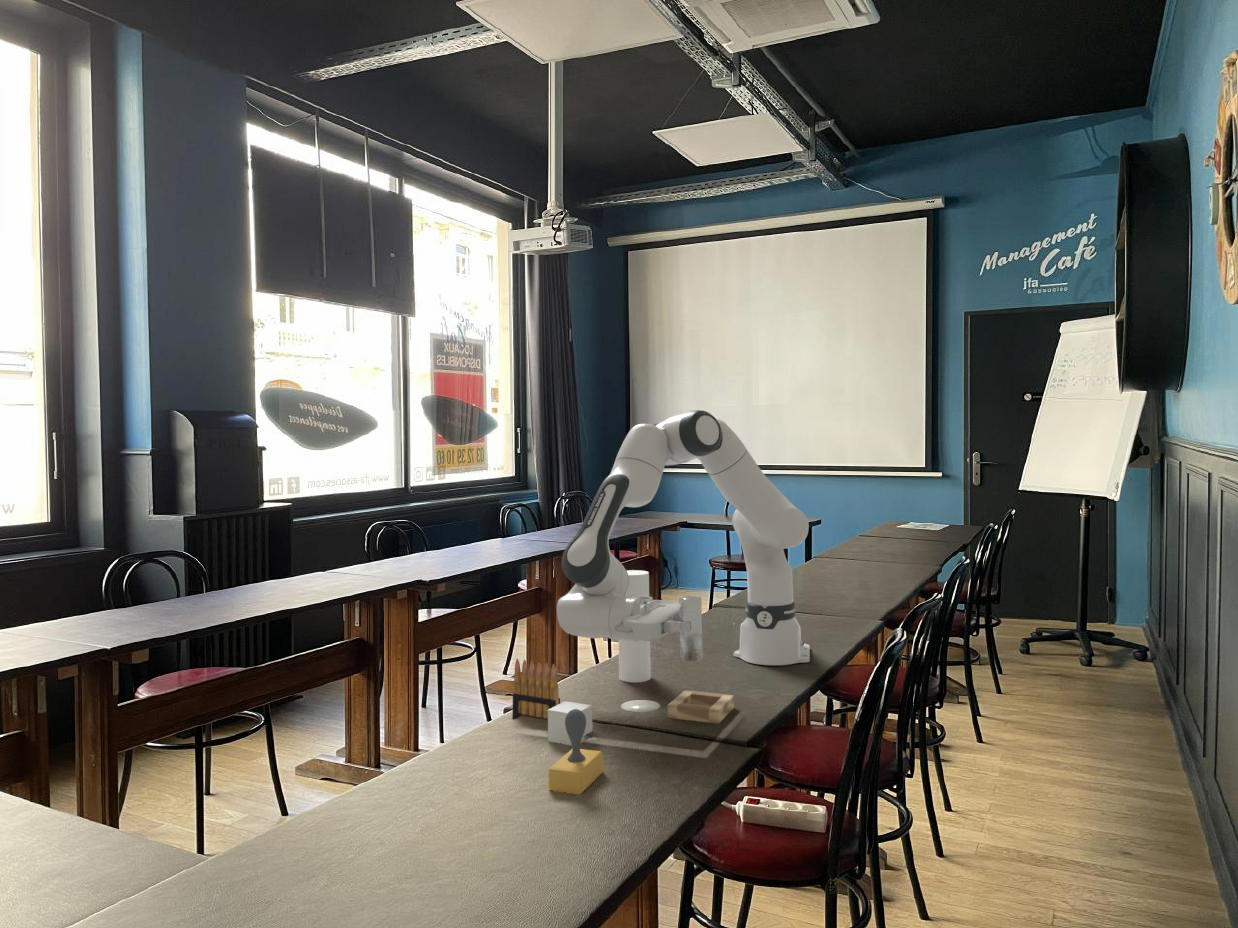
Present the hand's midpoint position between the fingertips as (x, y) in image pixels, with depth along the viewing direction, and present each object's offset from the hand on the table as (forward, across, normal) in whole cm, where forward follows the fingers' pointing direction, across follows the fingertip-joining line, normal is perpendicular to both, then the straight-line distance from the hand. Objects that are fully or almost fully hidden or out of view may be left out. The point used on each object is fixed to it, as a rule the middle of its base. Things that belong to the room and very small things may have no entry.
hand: (695, 623), depth 180 cm
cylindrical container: (-21, +19, +19) cm, 34 cm away
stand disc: (-12, 0, +19) cm, 22 cm away
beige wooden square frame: (+1, 0, +19) cm, 19 cm away
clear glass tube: (-1, 0, +7) cm, 7 cm away
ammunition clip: (-29, -13, +19) cm, 37 cm away
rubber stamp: (-8, -38, +19) cm, 43 cm away
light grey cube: (-18, -20, +19) cm, 33 cm away
